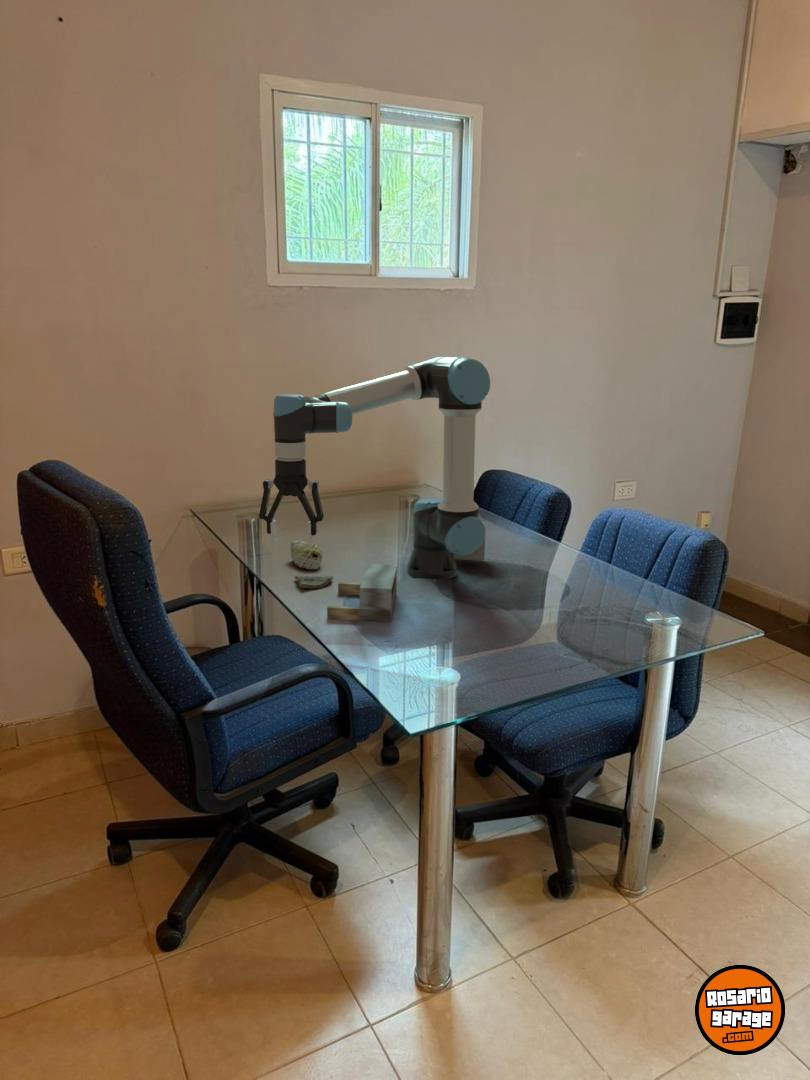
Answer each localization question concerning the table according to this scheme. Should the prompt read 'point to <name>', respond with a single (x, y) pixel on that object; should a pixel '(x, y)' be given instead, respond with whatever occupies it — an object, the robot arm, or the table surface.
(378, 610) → the seat fixture
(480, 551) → the icon cube
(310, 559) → the seashell
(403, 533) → the table surface
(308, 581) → the ceramic fragment
